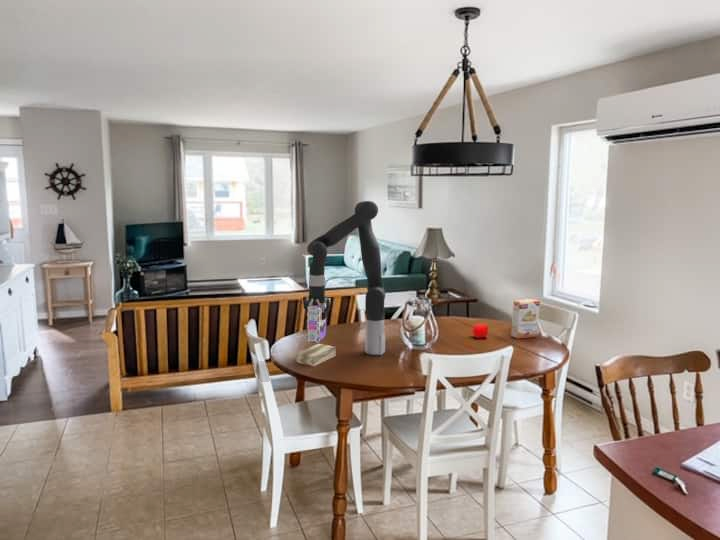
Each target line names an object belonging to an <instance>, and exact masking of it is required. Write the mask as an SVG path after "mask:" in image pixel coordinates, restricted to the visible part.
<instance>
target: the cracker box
mask: <svg viewBox="0 0 720 540" xmlns="http://www.w3.org/2000/svg"><path fill="white" fill-rule="evenodd" d="M540 304H541V302H540V301H539V300H537V299H532V298H531V299H519V300H513V304H512V317H511V318H512V319H511V333H510V334H511V335H510V336H511V337H512V338H515V339H516V340H518V339H526V338H528V339H529V338H537V337H538V329H539V328H538V327H539V317H540V315H539V314H540Z"/></svg>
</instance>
